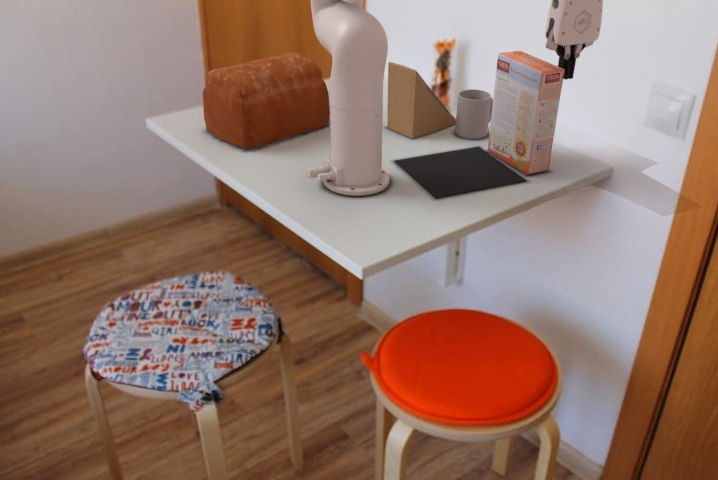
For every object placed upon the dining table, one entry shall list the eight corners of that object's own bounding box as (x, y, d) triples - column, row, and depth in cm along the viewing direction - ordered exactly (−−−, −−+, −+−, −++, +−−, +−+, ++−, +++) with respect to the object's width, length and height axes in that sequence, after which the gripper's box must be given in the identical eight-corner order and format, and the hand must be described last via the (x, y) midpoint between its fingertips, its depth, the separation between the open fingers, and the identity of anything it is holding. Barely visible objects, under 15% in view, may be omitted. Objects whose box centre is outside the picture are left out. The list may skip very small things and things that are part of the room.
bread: (336, 124, 163) (334, 59, 155) (247, 153, 148) (241, 82, 139) (287, 105, 172) (284, 42, 164) (199, 130, 157) (191, 62, 149)
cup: (448, 131, 162) (451, 93, 157) (480, 122, 167) (483, 85, 163) (470, 142, 157) (474, 102, 152) (502, 132, 163) (507, 94, 158)
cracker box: (550, 171, 146) (566, 68, 135) (526, 176, 143) (541, 71, 132) (509, 146, 156) (521, 48, 145) (486, 151, 154) (496, 51, 142)
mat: (436, 198, 134) (436, 197, 134) (394, 161, 147) (394, 160, 147) (526, 181, 142) (526, 180, 141) (478, 147, 155) (478, 146, 155)
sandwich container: (460, 122, 167) (465, 57, 159) (413, 139, 158) (416, 70, 149) (433, 112, 172) (437, 49, 164) (386, 127, 163) (388, 61, 154)
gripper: (558, -14, 129) (545, 87, 139) (624, -19, 134) (606, 78, 144) (534, -22, 134) (523, 75, 144) (598, -27, 140) (582, 68, 150)
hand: (564, 77), depth 144 cm, fingers closed
